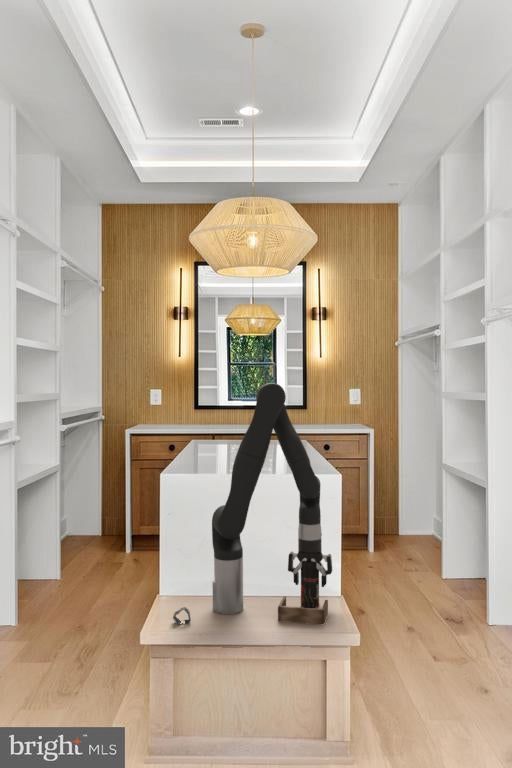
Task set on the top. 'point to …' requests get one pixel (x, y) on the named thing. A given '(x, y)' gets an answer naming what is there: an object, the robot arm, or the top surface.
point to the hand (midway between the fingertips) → (310, 585)
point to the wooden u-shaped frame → (302, 613)
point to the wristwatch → (178, 613)
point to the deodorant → (309, 585)
